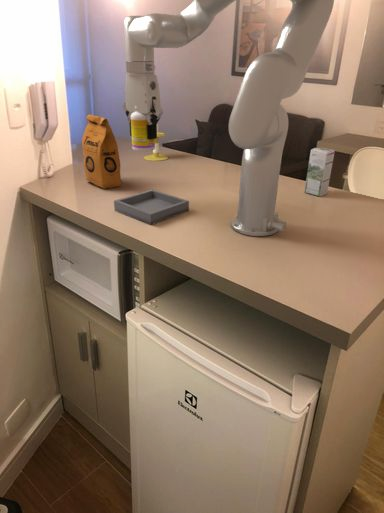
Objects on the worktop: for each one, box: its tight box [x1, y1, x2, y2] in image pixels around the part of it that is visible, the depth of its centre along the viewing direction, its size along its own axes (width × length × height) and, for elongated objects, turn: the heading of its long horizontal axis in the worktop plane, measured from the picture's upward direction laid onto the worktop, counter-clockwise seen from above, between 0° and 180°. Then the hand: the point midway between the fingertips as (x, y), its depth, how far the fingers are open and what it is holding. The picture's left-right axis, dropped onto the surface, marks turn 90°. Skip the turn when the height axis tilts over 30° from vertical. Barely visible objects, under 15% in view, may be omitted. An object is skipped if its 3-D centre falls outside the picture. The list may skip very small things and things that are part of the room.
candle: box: [143, 123, 169, 162], centre depth 169 cm, size 10×10×27 cm
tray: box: [113, 189, 190, 226], centre depth 119 cm, size 15×15×3 cm
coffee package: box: [81, 114, 122, 190], centre depth 136 cm, size 10×12×22 cm
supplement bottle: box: [131, 106, 155, 153], centre depth 118 cm, size 7×7×13 cm
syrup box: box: [304, 146, 335, 197], centre depth 135 cm, size 6×6×14 cm
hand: (143, 136), depth 119 cm, fingers closed on supplement bottle, 6 cm apart
